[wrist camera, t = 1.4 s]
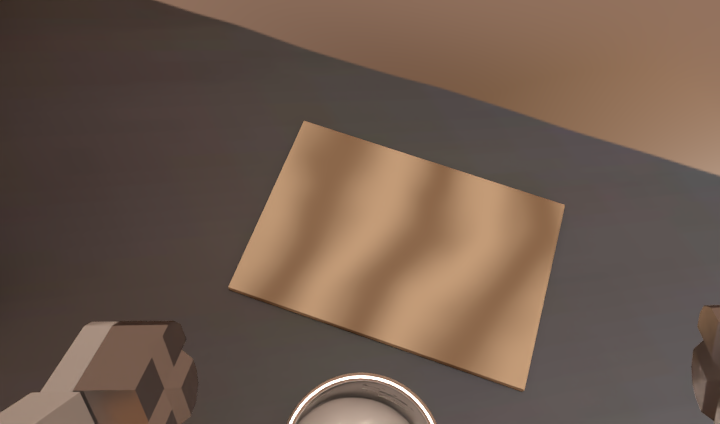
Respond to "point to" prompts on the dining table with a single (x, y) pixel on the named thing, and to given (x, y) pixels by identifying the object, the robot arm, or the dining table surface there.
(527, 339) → the placemat
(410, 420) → the beer glass
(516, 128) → the dining table surface
